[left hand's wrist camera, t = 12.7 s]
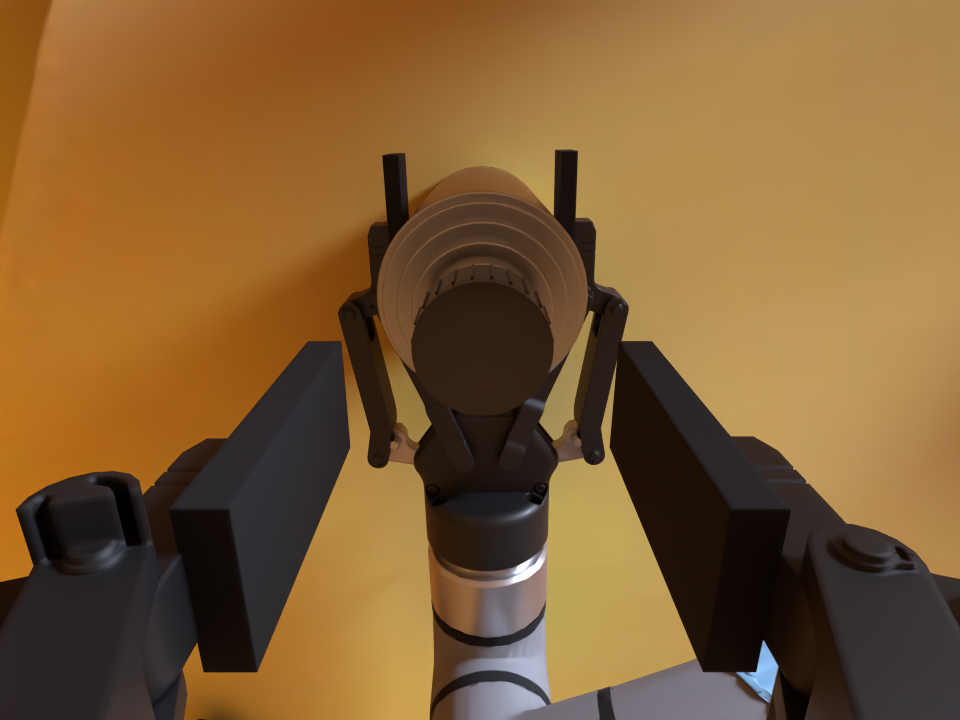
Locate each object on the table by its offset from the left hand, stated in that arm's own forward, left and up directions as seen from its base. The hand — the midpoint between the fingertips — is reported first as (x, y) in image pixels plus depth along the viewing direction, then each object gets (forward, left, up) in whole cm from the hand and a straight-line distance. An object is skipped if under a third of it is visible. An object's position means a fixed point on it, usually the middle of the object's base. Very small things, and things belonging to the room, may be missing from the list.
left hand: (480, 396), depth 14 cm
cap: (0, 0, -3) cm, 3 cm away
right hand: (-5, 0, -19) cm, 19 cm away
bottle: (0, 0, -25) cm, 25 cm away
